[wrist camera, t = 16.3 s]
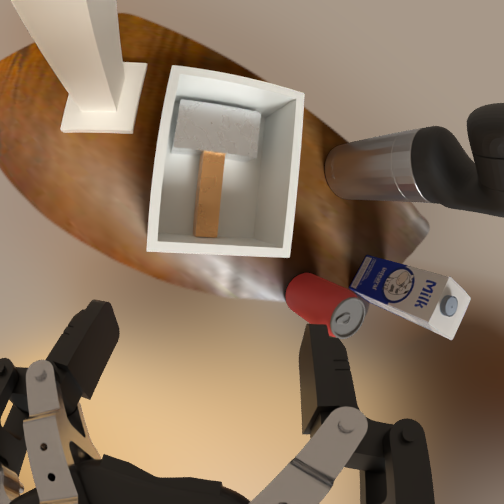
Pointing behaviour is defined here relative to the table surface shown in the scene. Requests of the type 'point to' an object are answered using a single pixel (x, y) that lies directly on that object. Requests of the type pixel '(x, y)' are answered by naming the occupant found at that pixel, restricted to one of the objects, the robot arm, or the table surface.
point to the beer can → (325, 304)
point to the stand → (87, 62)
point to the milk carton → (412, 294)
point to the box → (229, 171)
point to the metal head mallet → (213, 151)
